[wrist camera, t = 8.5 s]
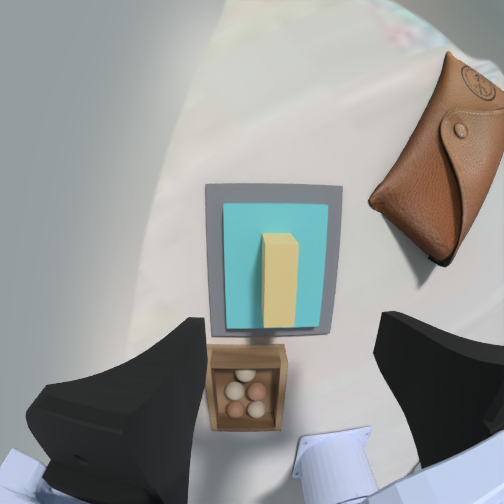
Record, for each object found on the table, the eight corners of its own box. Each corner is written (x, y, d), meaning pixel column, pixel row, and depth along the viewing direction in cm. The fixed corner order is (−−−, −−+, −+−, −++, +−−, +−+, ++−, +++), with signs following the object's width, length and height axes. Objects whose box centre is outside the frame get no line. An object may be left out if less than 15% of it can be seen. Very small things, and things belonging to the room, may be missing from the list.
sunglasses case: (445, 42, 15) (511, 56, 10) (465, 94, 19) (520, 112, 14) (360, 207, 19) (438, 253, 14) (395, 239, 23) (453, 278, 18)
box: (278, 412, 24) (280, 430, 21) (213, 412, 24) (211, 430, 21) (284, 343, 22) (287, 361, 19) (206, 344, 21) (203, 362, 19)
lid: (316, 321, 21) (329, 349, 17) (227, 322, 21) (224, 352, 17) (325, 204, 18) (343, 211, 15) (224, 203, 18) (218, 210, 15)
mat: (328, 331, 21) (329, 333, 21) (212, 333, 21) (211, 335, 21) (341, 186, 18) (342, 186, 18) (206, 184, 18) (205, 184, 18)
